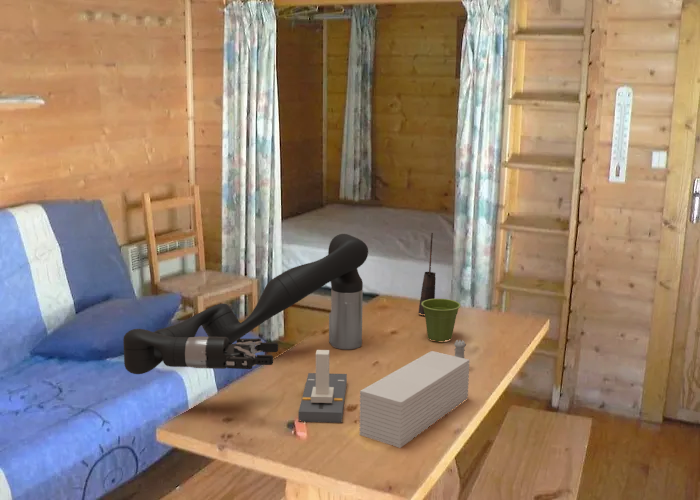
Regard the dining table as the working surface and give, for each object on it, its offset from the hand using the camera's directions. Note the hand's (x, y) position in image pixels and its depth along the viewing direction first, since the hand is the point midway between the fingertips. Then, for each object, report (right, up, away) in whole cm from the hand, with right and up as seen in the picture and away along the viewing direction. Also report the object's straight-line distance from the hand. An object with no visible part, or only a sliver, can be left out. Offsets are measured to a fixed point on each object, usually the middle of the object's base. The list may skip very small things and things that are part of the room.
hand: (275, 353), depth 182 cm
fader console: (+11, -13, +8) cm, 19 cm away
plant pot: (+45, -3, +54) cm, 71 cm away
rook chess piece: (+48, -8, +30) cm, 57 cm away
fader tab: (+11, -11, +2) cm, 16 cm away
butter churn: (+43, +2, +78) cm, 89 cm away
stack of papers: (+33, -15, 0) cm, 37 cm away
